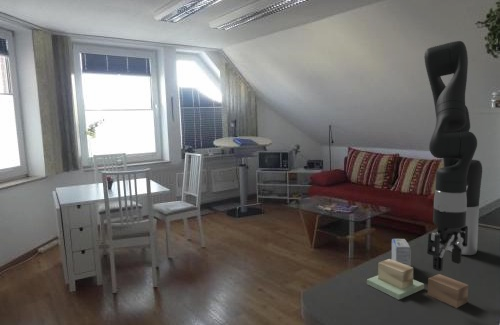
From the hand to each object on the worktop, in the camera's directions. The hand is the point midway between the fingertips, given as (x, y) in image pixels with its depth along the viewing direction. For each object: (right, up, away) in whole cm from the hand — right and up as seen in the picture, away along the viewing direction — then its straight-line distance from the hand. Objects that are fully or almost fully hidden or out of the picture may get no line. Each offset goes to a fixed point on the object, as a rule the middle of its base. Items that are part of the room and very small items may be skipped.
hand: (447, 266), depth 95 cm
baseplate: (-11, -8, +8) cm, 16 cm away
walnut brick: (+1, -9, +1) cm, 9 cm away
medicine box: (-4, -7, +20) cm, 22 cm away
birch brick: (-11, -7, +8) cm, 15 cm away
